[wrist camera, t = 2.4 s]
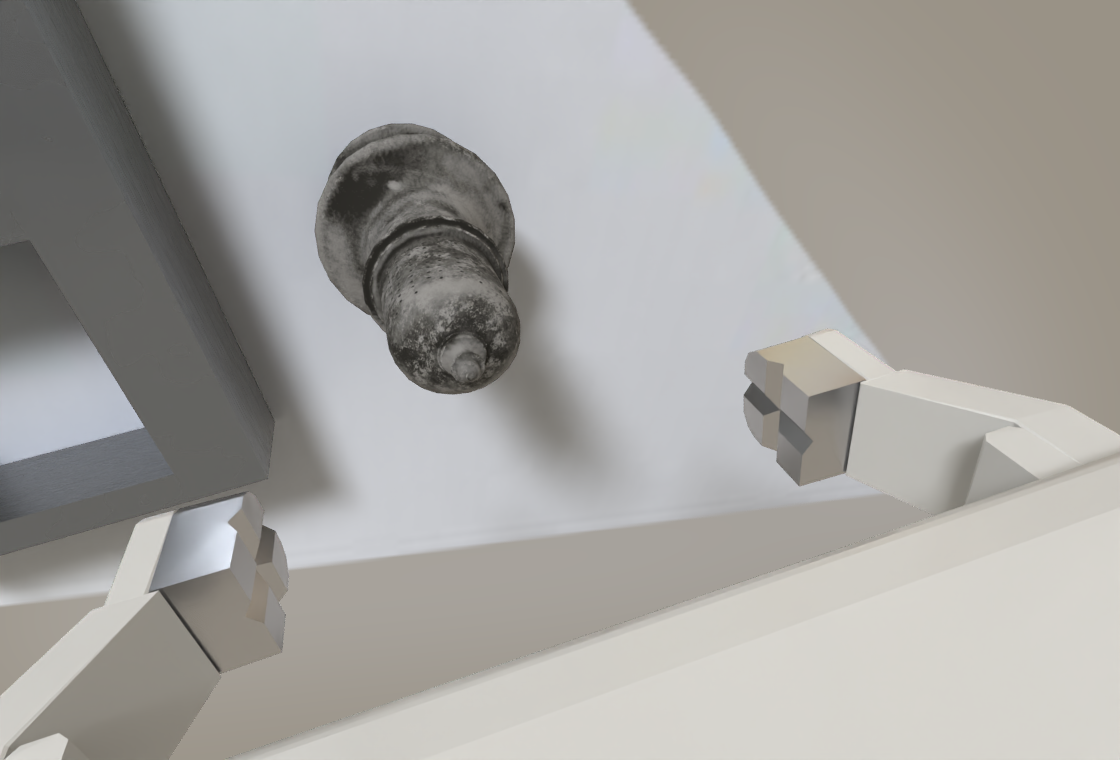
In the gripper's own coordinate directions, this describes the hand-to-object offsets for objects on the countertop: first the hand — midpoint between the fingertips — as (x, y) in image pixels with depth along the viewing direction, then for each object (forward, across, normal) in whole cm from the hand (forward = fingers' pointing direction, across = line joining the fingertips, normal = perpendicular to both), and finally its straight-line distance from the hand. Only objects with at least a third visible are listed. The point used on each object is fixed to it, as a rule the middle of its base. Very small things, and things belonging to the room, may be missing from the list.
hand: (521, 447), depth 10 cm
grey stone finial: (+15, +1, 0) cm, 15 cm away
